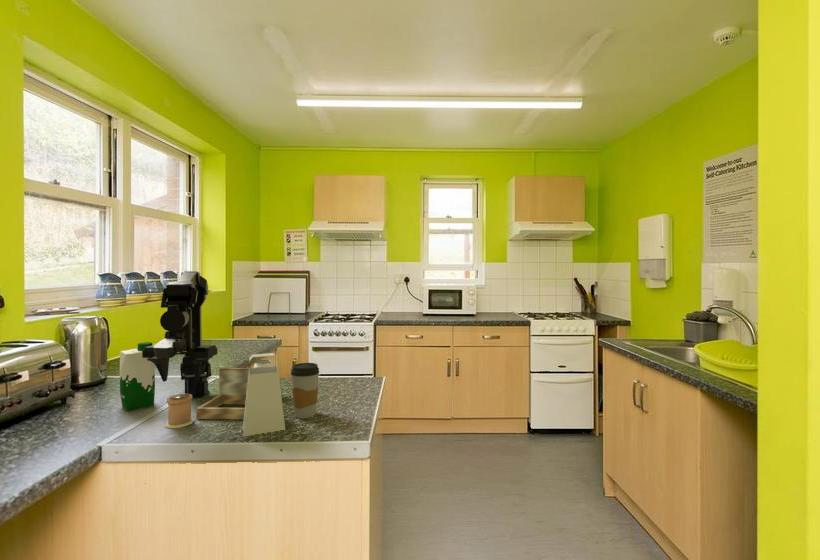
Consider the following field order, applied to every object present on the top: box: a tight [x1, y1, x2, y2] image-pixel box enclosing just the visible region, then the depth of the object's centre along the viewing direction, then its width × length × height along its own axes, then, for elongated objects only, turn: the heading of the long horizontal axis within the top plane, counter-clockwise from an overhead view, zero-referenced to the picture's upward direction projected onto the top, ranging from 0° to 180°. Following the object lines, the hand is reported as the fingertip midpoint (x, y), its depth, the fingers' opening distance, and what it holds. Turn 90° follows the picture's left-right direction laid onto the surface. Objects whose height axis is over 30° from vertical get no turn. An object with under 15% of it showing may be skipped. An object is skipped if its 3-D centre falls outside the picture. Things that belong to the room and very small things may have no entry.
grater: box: [242, 352, 286, 437], centre depth 110 cm, size 10×10×20 cm
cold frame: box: [196, 367, 251, 420], centre depth 122 cm, size 16×14×12 cm
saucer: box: [164, 417, 195, 429], centre depth 112 cm, size 7×7×1 cm
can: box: [253, 359, 274, 368], centre depth 137 cm, size 6×6×12 cm
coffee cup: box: [290, 362, 320, 420], centre depth 118 cm, size 8×8×15 cm
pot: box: [166, 393, 193, 425], centre depth 112 cm, size 6×6×7 cm
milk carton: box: [119, 341, 156, 412], centre depth 126 cm, size 9×9×20 cm
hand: (180, 381), depth 112 cm, fingers open, 9 cm apart
